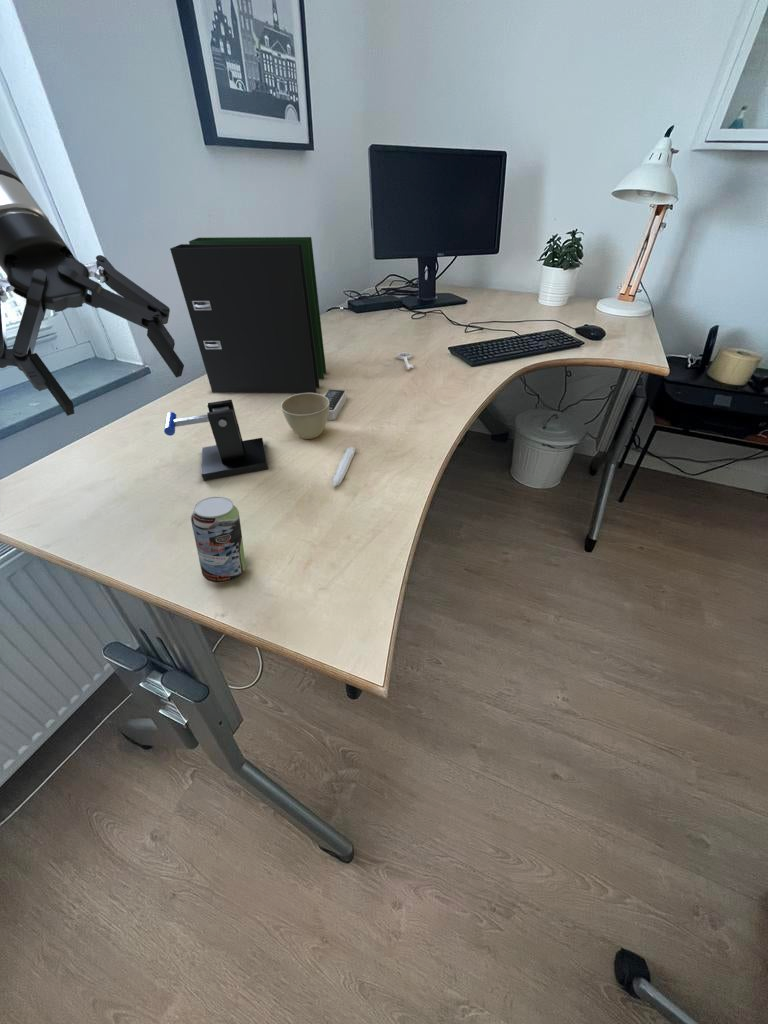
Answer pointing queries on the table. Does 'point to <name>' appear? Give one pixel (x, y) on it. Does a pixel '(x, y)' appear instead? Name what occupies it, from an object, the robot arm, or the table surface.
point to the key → (405, 359)
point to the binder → (254, 312)
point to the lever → (185, 420)
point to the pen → (343, 466)
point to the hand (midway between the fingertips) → (129, 389)
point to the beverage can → (218, 539)
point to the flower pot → (306, 413)
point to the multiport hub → (335, 402)
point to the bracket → (230, 446)
